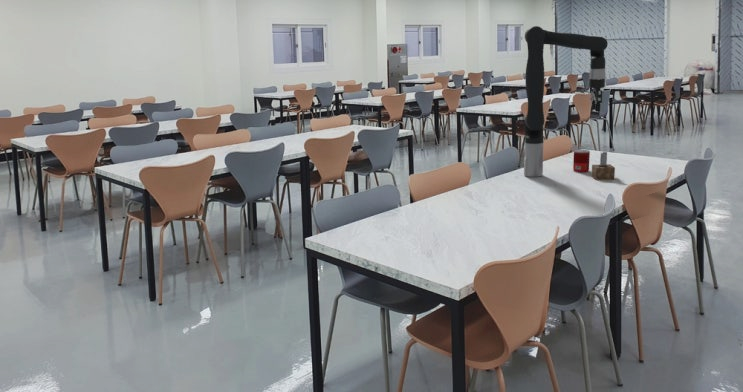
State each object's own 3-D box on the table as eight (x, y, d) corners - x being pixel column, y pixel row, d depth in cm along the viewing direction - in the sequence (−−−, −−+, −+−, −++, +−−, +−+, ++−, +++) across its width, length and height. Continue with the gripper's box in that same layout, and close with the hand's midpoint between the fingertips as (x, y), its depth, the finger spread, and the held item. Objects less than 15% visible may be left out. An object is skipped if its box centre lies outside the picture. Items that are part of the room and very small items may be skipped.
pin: (600, 176, 324) (601, 152, 321) (599, 175, 327) (600, 151, 324) (606, 176, 324) (607, 152, 321) (605, 175, 327) (606, 151, 324)
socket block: (595, 179, 322) (596, 167, 320) (591, 176, 331) (592, 164, 329) (614, 179, 321) (614, 167, 319) (609, 175, 329) (610, 164, 328)
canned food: (590, 172, 341) (591, 151, 338) (575, 172, 341) (576, 152, 338) (586, 169, 348) (587, 149, 346) (571, 170, 348) (572, 149, 346)
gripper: (586, 77, 330) (585, 109, 334) (592, 79, 317) (591, 112, 320) (601, 77, 329) (600, 109, 333) (608, 78, 316) (606, 112, 319)
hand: (595, 110), depth 327 cm, fingers open, 8 cm apart
